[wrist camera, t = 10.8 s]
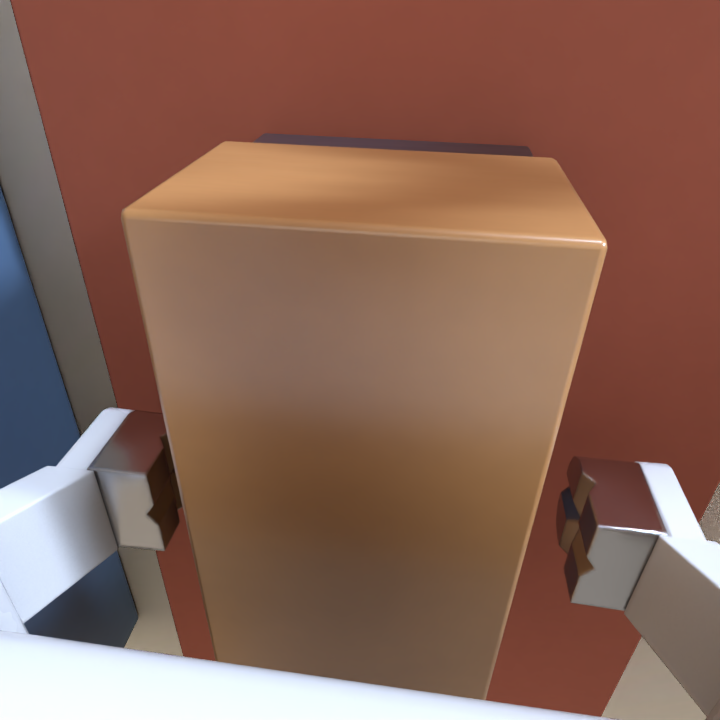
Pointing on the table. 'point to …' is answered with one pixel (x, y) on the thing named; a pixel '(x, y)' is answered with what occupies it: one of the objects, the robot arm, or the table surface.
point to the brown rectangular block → (363, 390)
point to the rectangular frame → (48, 449)
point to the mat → (436, 124)
